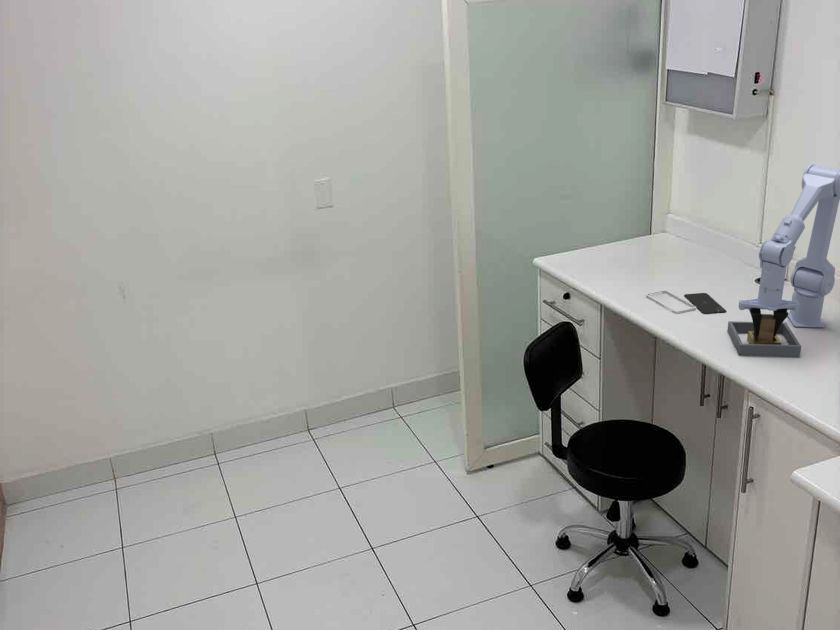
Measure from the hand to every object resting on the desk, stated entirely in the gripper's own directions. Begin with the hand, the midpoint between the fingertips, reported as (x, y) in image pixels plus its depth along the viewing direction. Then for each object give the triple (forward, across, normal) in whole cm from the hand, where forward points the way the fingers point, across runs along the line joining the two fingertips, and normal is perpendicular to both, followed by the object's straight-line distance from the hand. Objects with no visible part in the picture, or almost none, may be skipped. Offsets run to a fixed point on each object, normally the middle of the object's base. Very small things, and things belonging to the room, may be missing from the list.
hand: (764, 334), depth 224 cm
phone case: (+4, -20, +28) cm, 35 cm away
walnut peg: (+2, 0, 0) cm, 2 cm away
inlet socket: (+3, 0, 0) cm, 3 cm away
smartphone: (+4, -10, +28) cm, 30 cm away
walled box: (+3, 0, +1) cm, 3 cm away
